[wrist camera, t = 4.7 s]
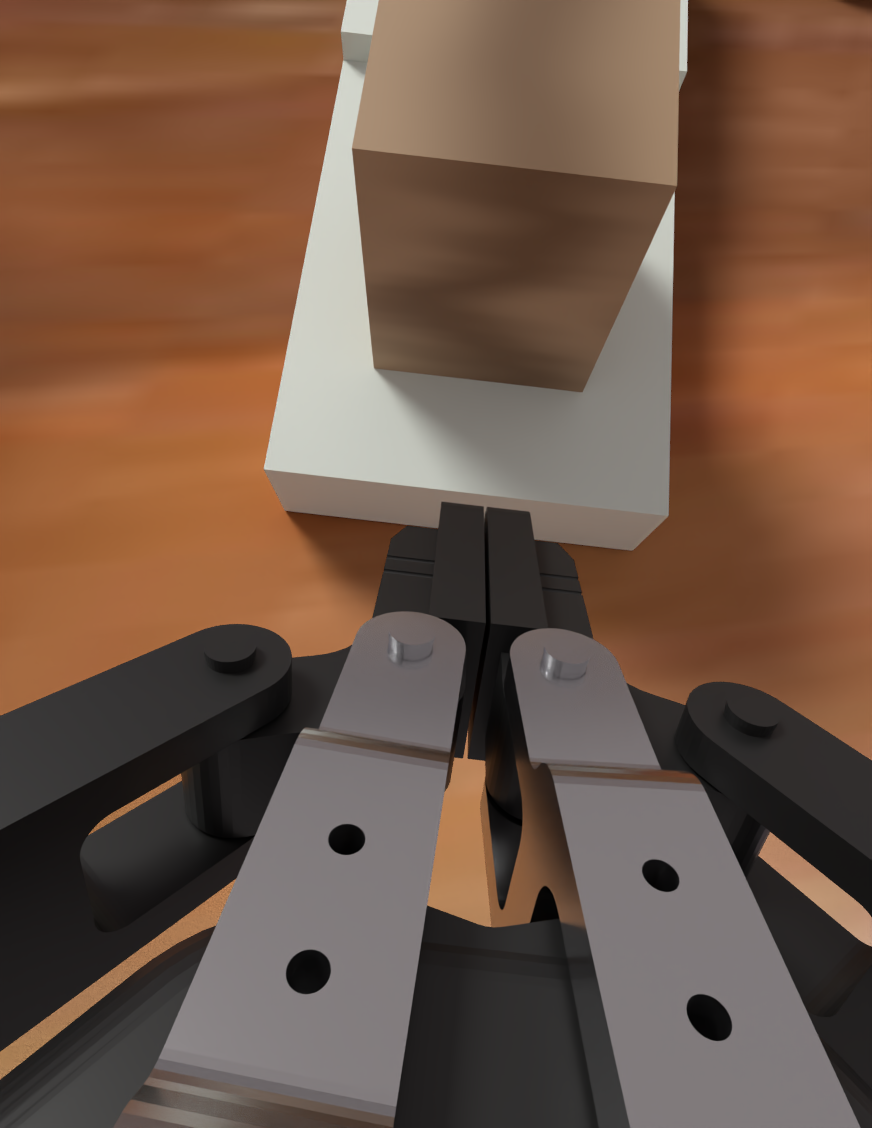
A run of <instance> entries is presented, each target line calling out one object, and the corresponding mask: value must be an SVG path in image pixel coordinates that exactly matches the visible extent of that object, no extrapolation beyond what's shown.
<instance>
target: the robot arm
mask: <svg viewBox="0 0 872 1128" xmlns="http://www.w3.org/2000/svg"><path fill="white" fill-rule="evenodd" d="M581 593H582V591H581V587H580V583H579V581H578V575H577V571H576V567H575V563H574V560H573V559H572V558H571V557H570V556H569V555H568V553H567V552H566V551H565V550H564V549H563V548H562V547H561V546H560V545H559V544H558V543H551V542H542V541H534V534H533V528H532V521H531V515H530V512H528V511H519V510H511V509H503V508H494V507H487V508H486V512H485V516H484V506H476V505H468V504H459V503H451V502H442V501H441V509H440V518H439V526H438V529H430V528H422V527H413V526H406V527H405V528H404V529H403V530H401V531H400V532H399V533H398V534H396V535H395V536H394V537H393V538H391V542H390V546H389V550H388V554H387V559H386V563H385V567H384V572H383V575H382V580H381V584H380V588H379V592H378V596H377V601H376V605H375V609H374V613H373V617H372V619H370V620H369V621H367V622H366V623H364V624H363V625H362V627H361V628H360V629H359V631H358V632H357V634H356V637H355V639H354V642H353V644H352V645H351V646H349V647H347V648H345V649H342V650H339V651H337V652H333V653H329V654H323V655H315V656H305V657H295V658H292V654H291V650H290V647H289V645H288V644H287V643H286V641H285V640H284V639H283V638H281V637H280V636H279V635H277V634H276V633H274V632H272V631H270V630H267V629H265V628H261V627H258V626H253V625H245V624H229V625H220V626H215V627H211V628H207V629H204V630H201V631H198V632H196V633H193V634H191V635H189V636H186V637H184V638H182V639H179V640H177V641H175V642H172V643H170V644H168V645H165V646H163V647H161V648H158V649H156V650H154V651H151V652H149V653H147V654H144V655H142V656H140V657H137V658H135V659H133V660H130V661H128V662H126V663H123V664H121V665H119V666H116V667H114V668H112V669H109V670H107V671H105V672H102V673H100V674H97V675H95V676H93V677H90V678H88V679H86V680H83V681H81V682H79V683H76V684H74V685H72V686H69V687H67V688H65V689H62V690H60V691H58V692H55V693H53V694H51V695H48V696H46V697H44V698H41V699H39V700H37V701H34V702H32V703H30V704H27V705H25V706H23V707H20V708H18V709H16V710H13V711H11V712H8V713H6V714H4V715H1V716H0V1051H2V1050H3V1049H4V1048H6V1047H7V1046H8V1045H10V1044H11V1043H13V1042H14V1041H15V1040H17V1039H18V1038H19V1037H21V1036H22V1035H23V1034H25V1033H26V1032H28V1031H29V1030H30V1029H32V1028H33V1027H34V1026H36V1025H37V1024H38V1023H40V1022H41V1021H43V1020H44V1019H45V1018H47V1017H48V1016H49V1015H51V1014H52V1013H53V1012H55V1011H56V1010H57V1009H59V1008H60V1007H62V1006H63V1005H64V1004H66V1003H67V1002H68V1001H70V1000H71V999H72V998H74V997H75V996H77V995H78V994H79V993H81V992H82V991H83V990H85V989H86V988H87V987H89V986H90V985H92V984H93V983H94V982H96V981H97V980H98V979H100V978H101V977H102V976H104V975H105V974H107V973H108V972H109V971H111V970H112V969H113V968H115V967H116V966H117V965H119V964H120V963H122V962H123V961H124V960H126V959H127V958H128V957H130V956H131V955H132V954H134V953H135V952H137V951H138V950H139V949H141V948H142V947H143V946H145V945H146V944H147V943H149V942H150V941H151V940H153V939H154V938H156V937H157V936H158V935H160V934H161V933H162V932H164V931H165V930H166V929H168V928H169V927H171V926H172V925H173V924H175V923H176V922H177V921H179V920H180V919H181V918H183V917H184V916H186V915H187V914H188V913H190V912H191V911H192V910H194V909H195V908H196V907H198V906H199V905H201V904H202V903H203V902H205V901H206V900H207V899H209V898H210V897H211V896H213V895H214V894H216V893H217V892H218V891H220V890H221V889H222V888H224V887H225V886H226V885H228V884H229V883H231V882H232V881H233V880H235V879H236V878H237V879H236V881H235V883H234V886H233V888H232V890H231V893H230V895H229V897H228V900H227V902H226V904H225V907H224V909H223V911H222V913H221V916H220V918H219V920H218V923H217V925H216V926H214V927H211V928H209V929H206V930H203V931H201V932H199V933H197V934H195V935H193V936H191V937H189V938H187V939H185V940H183V941H181V942H179V943H177V944H176V945H174V946H173V947H171V948H170V949H168V950H166V951H165V952H163V953H162V954H160V955H159V956H157V957H155V958H154V959H152V960H151V961H150V962H148V963H147V964H146V965H144V966H143V967H142V968H140V969H139V970H138V971H136V972H135V973H134V974H132V975H131V976H130V977H129V978H127V979H126V980H125V981H124V982H122V983H121V984H120V985H119V986H117V987H116V988H115V989H114V990H112V991H111V992H110V993H109V994H107V995H106V996H105V997H104V998H102V999H101V1000H100V1001H99V1002H97V1003H96V1004H95V1005H94V1006H92V1007H91V1008H90V1009H89V1010H87V1011H86V1012H85V1013H84V1014H82V1015H81V1016H80V1017H79V1018H77V1019H76V1020H75V1021H73V1022H72V1023H71V1024H70V1025H68V1026H67V1027H66V1028H65V1029H63V1030H62V1031H61V1032H60V1033H58V1034H57V1035H56V1036H55V1037H53V1038H52V1039H51V1040H50V1041H48V1042H47V1043H46V1044H45V1045H43V1046H42V1047H41V1048H40V1049H38V1050H37V1051H36V1052H35V1053H33V1054H32V1055H31V1056H30V1057H28V1058H27V1059H26V1060H25V1061H23V1062H22V1063H21V1064H20V1065H18V1066H17V1067H16V1068H15V1069H13V1070H12V1071H11V1072H10V1073H8V1074H7V1075H6V1076H5V1077H3V1078H2V1079H1V1080H0V1128H872V947H871V946H869V945H866V944H865V943H863V942H861V941H860V940H858V939H857V938H856V937H854V936H853V935H852V934H851V933H850V932H848V931H847V930H846V929H845V928H844V927H842V926H841V925H840V924H839V923H838V922H837V921H835V920H834V919H833V918H832V917H831V916H829V915H828V914H827V913H826V912H825V911H823V910H822V909H821V908H820V907H819V906H817V905H816V904H815V903H814V902H813V901H811V900H810V899H809V898H808V897H807V896H805V895H804V894H803V893H802V892H801V891H800V890H798V889H797V888H796V887H795V886H794V885H792V884H791V883H790V882H789V881H788V880H786V879H785V878H784V877H783V876H782V875H780V874H779V873H778V872H777V871H776V870H774V869H773V868H772V867H771V866H770V865H769V864H767V863H766V862H765V861H764V860H763V859H761V858H760V857H759V856H758V855H759V853H760V851H761V849H762V847H763V845H764V843H765V841H766V839H767V837H768V835H769V833H770V832H771V833H773V834H774V835H775V836H776V837H778V838H779V839H780V840H781V841H783V842H784V843H785V844H786V845H788V846H789V847H790V848H791V849H793V850H794V851H795V852H796V853H798V854H799V855H800V856H801V857H803V858H804V859H805V860H806V861H808V862H809V863H810V864H811V865H813V866H814V867H815V868H816V869H818V870H819V871H820V872H821V873H823V874H824V875H825V876H826V877H828V878H829V879H830V880H831V881H833V882H834V883H835V884H836V885H838V886H839V887H840V888H841V889H842V890H844V891H845V892H846V893H847V894H849V895H850V896H851V897H852V898H854V899H855V900H856V901H857V902H858V903H860V904H861V905H862V906H863V907H864V908H865V909H866V910H867V912H868V913H869V914H870V915H871V917H872V760H870V759H869V758H867V757H865V756H864V755H862V754H861V753H859V752H858V751H856V750H855V749H853V748H852V747H850V746H849V745H847V744H845V743H844V742H842V741H841V740H839V739H838V738H836V737H835V736H833V735H832V734H830V733H829V732H827V731H825V730H824V729H822V728H821V727H819V726H818V725H816V724H815V723H813V722H812V721H810V720H809V719H807V718H805V717H804V716H802V715H801V714H799V713H798V712H796V711H795V710H793V709H792V708H790V707H789V706H787V705H785V704H784V703H782V702H781V701H779V700H777V699H776V698H774V697H772V696H770V695H768V694H766V693H764V692H762V691H760V690H757V689H754V688H752V687H748V686H745V685H741V684H736V683H730V682H711V683H706V684H703V685H700V686H698V687H697V688H695V689H694V690H693V691H692V692H691V693H690V695H689V697H688V700H687V703H686V705H683V704H680V703H677V702H674V701H671V700H668V699H664V698H661V697H658V696H655V695H652V694H650V693H647V692H644V691H642V690H639V689H637V688H635V687H633V686H631V685H629V684H628V683H626V681H625V679H624V676H623V674H622V671H621V669H620V666H619V664H618V662H617V660H616V658H615V657H614V656H613V655H612V653H611V652H610V651H609V650H608V649H607V648H605V647H604V646H603V645H601V644H600V643H598V642H597V641H595V640H594V639H593V635H592V631H591V627H590V623H589V619H588V615H587V611H586V607H585V603H584V599H583V596H582V595H581ZM467 731H468V759H475V760H484V761H485V766H486V777H485V782H484V787H483V792H482V797H481V802H480V812H481V823H482V833H483V843H484V854H485V864H486V875H487V885H488V895H489V906H490V916H491V927H485V926H482V925H478V924H476V923H473V922H470V921H467V920H465V919H462V918H459V917H457V916H454V915H451V914H448V913H446V912H443V911H440V910H438V909H435V908H432V907H429V906H427V902H428V895H429V889H430V882H431V876H432V869H433V862H434V856H435V849H436V843H437V836H438V830H439V823H440V817H441V810H442V803H443V797H444V792H445V790H446V789H447V788H448V785H449V783H450V779H451V773H452V767H453V761H454V757H456V758H463V755H464V749H465V743H466V737H467ZM180 773H181V775H182V781H181V782H179V783H177V784H176V785H174V786H172V787H171V788H169V789H167V790H165V791H164V792H162V793H160V794H159V795H157V796H155V797H153V798H152V799H150V800H148V801H147V802H145V803H143V804H141V805H140V806H138V807H136V808H135V809H133V810H131V811H129V812H128V813H126V814H124V815H123V816H121V817H119V818H117V819H116V820H114V821H112V822H111V823H109V824H107V825H105V826H104V827H102V828H100V829H99V830H97V831H95V832H93V833H92V834H90V835H88V834H89V833H90V832H91V831H92V829H93V828H94V827H95V826H96V825H97V824H98V823H99V822H100V821H101V820H103V819H104V818H105V817H106V816H108V815H110V814H111V813H113V812H114V811H116V810H118V809H120V808H121V807H123V806H125V805H126V804H128V803H130V802H132V801H133V800H135V799H137V798H139V797H140V796H142V795H144V794H146V793H147V792H149V791H151V790H153V789H154V788H156V787H158V786H160V785H161V784H163V783H165V782H167V781H168V780H170V779H172V778H174V777H175V776H177V775H179V774H180Z"/></svg>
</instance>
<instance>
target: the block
mask: <svg viewBox="0 0 872 1128" xmlns="http://www.w3.org/2000/svg"><path fill="white" fill-rule="evenodd" d="M679 53H680V0H379V2H378V7H377V13H376V18H375V24H374V29H373V35H372V40H371V46H370V51H369V57H368V62H367V68H366V73H365V79H364V84H363V89H362V95H361V100H360V106H359V111H358V117H357V122H356V128H355V133H354V139H353V144H352V155H353V165H354V175H355V185H356V195H357V205H358V215H359V225H360V236H361V246H362V256H363V266H364V276H365V286H366V296H367V306H368V316H369V326H370V336H371V346H372V356H373V366H374V368H375V369H384V370H393V371H401V372H410V373H419V374H427V375H436V376H444V377H453V378H462V379H470V380H479V381H488V382H496V383H505V384H514V385H522V386H531V387H540V388H548V389H557V390H566V391H574V392H583V390H584V388H585V386H586V384H587V381H588V379H589V377H590V375H591V373H592V371H593V368H594V366H595V364H596V362H597V360H598V357H599V355H600V353H601V351H602V349H603V347H604V344H605V342H606V340H607V338H608V336H609V333H610V331H611V329H612V327H613V325H614V323H615V320H616V318H617V316H618V314H619V312H620V309H621V307H622V305H623V303H624V301H625V299H626V296H627V294H628V292H629V290H630V288H631V285H632V283H633V281H634V279H635V277H636V275H637V272H638V270H639V268H640V266H641V264H642V261H643V259H644V257H645V255H646V253H647V251H648V248H649V246H650V244H651V242H652V240H653V237H654V235H655V233H656V231H657V229H658V227H659V224H660V222H661V220H662V218H663V216H664V214H665V211H666V209H667V207H668V205H669V203H670V200H671V198H672V196H673V194H674V192H675V190H676V187H677V167H678V110H679Z"/></svg>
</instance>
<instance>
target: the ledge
mask: <svg viewBox="0 0 872 1128" xmlns="http://www.w3.org/2000/svg"><path fill="white" fill-rule="evenodd" d="M366 68H367V62H359V61H350V60H344V61H343V66H342V71H341V76H340V81H339V86H338V91H337V97H336V102H335V107H334V112H333V117H332V122H331V127H330V132H329V138H328V143H327V148H326V153H325V158H324V163H323V168H322V173H321V179H320V184H319V189H318V194H317V199H316V204H315V209H314V214H313V220H312V225H311V230H310V235H309V240H308V245H307V250H306V255H305V261H304V266H303V271H302V276H301V281H300V286H299V291H298V296H297V302H296V307H295V312H294V317H293V322H292V327H291V332H290V337H289V343H288V348H287V353H286V358H285V363H284V368H283V373H282V378H281V384H280V389H279V394H278V399H277V404H276V409H275V414H274V419H273V425H272V430H271V435H270V440H269V445H268V450H267V455H266V461H265V466H264V471H265V473H266V475H267V477H268V478H269V480H270V482H271V484H272V486H273V488H274V490H275V492H276V494H277V496H278V498H279V500H280V502H281V504H282V506H283V508H284V510H285V511H292V512H301V513H309V514H318V515H327V516H335V517H344V518H353V519H361V520H370V521H379V522H387V523H396V524H405V525H413V526H422V527H431V528H438V526H439V518H440V509H441V501H442V502H451V503H459V504H468V505H476V506H484V516H485V512H486V508H487V507H494V508H503V509H511V510H519V511H528V512H530V515H531V521H532V528H533V534H534V539H535V540H543V541H552V542H560V543H569V544H578V545H586V546H595V547H604V548H612V549H621V550H630V551H633V550H634V549H635V548H636V547H637V546H638V545H639V544H640V543H641V542H642V541H643V540H644V539H645V538H646V537H647V536H648V535H649V534H650V533H651V532H653V531H654V530H655V529H656V528H657V527H658V526H659V525H660V524H661V523H662V522H663V521H664V520H665V519H666V518H667V517H668V516H669V468H670V415H671V361H672V307H673V254H674V200H675V192H674V194H673V196H672V198H671V200H670V203H669V205H668V207H667V209H666V211H665V214H664V216H663V218H662V220H661V222H660V224H659V227H658V229H657V231H656V233H655V235H654V237H653V240H652V242H651V244H650V246H649V248H648V251H647V253H646V255H645V257H644V259H643V261H642V264H641V266H640V268H639V270H638V272H637V275H636V277H635V279H634V281H633V283H632V285H631V288H630V290H629V292H628V294H627V296H626V299H625V301H624V303H623V305H622V307H621V309H620V312H619V314H618V316H617V318H616V320H615V323H614V325H613V327H612V329H611V331H610V333H609V336H608V338H607V340H606V342H605V344H604V347H603V349H602V351H601V353H600V355H599V357H598V360H597V362H596V364H595V366H594V368H593V371H592V373H591V375H590V377H589V379H588V381H587V384H586V386H585V388H584V390H583V392H574V391H566V390H557V389H548V388H540V387H531V386H522V385H514V384H505V383H496V382H488V381H479V380H470V379H462V378H453V377H444V376H436V375H427V374H419V373H410V372H401V371H393V370H384V369H375V368H374V366H373V356H372V346H371V336H370V326H369V316H368V306H367V296H366V286H365V276H364V266H363V256H362V246H361V236H360V225H359V215H358V205H357V195H356V185H355V175H354V165H353V155H352V144H353V139H354V133H355V128H356V122H357V117H358V111H359V106H360V100H361V95H362V89H363V84H364V79H365V73H366Z"/></svg>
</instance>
